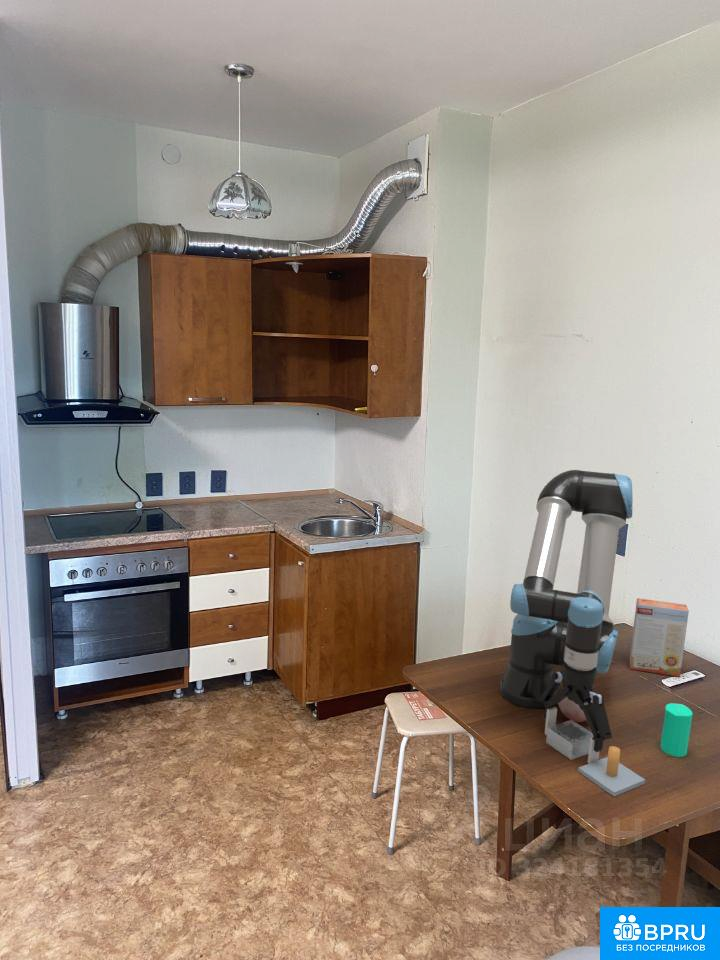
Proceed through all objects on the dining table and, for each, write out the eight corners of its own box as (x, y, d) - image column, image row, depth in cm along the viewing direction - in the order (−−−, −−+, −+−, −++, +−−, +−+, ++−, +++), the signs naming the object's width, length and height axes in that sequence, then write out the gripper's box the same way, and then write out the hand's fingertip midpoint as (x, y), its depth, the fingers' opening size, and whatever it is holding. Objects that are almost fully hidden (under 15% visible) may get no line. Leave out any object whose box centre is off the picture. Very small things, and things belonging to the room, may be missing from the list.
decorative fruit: (600, 726, 180) (604, 689, 178) (578, 734, 176) (582, 697, 174) (571, 709, 188) (575, 674, 186) (549, 716, 183) (553, 680, 182)
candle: (664, 739, 175) (670, 694, 173) (690, 749, 171) (696, 703, 169) (656, 749, 170) (663, 703, 168) (683, 759, 167) (689, 712, 164)
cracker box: (678, 669, 214) (687, 603, 210) (680, 678, 209) (689, 610, 205) (628, 661, 218) (636, 596, 214) (629, 669, 213) (637, 603, 209)
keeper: (578, 771, 160) (581, 743, 159) (608, 760, 165) (612, 732, 164) (613, 796, 152) (617, 767, 150) (644, 783, 157) (648, 755, 155)
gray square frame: (546, 742, 171) (547, 727, 171) (569, 734, 175) (571, 719, 175) (571, 760, 165) (572, 744, 164) (595, 751, 169) (597, 735, 168)
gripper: (530, 646, 174) (522, 725, 178) (611, 690, 153) (600, 779, 157) (552, 641, 178) (544, 718, 182) (635, 683, 157) (623, 770, 161)
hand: (570, 747), depth 170 cm, fingers open, 13 cm apart
